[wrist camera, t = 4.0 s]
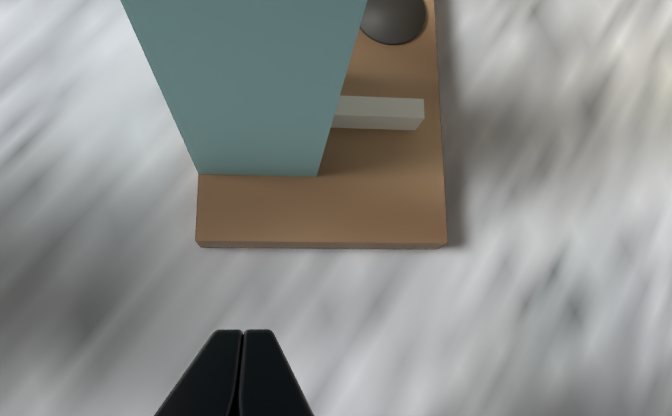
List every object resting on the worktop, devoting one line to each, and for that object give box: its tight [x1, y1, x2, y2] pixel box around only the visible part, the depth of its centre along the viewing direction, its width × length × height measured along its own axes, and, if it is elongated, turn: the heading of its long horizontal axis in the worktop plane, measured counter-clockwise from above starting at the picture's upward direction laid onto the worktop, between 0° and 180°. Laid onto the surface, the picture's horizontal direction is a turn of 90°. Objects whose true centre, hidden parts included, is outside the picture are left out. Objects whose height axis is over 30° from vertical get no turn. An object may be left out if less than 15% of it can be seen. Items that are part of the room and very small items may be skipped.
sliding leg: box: [121, 0, 425, 177], centre depth 12 cm, size 4×6×10 cm, turn 90°
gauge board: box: [195, 0, 447, 249], centre depth 18 cm, size 14×8×1 cm, turn 1°
